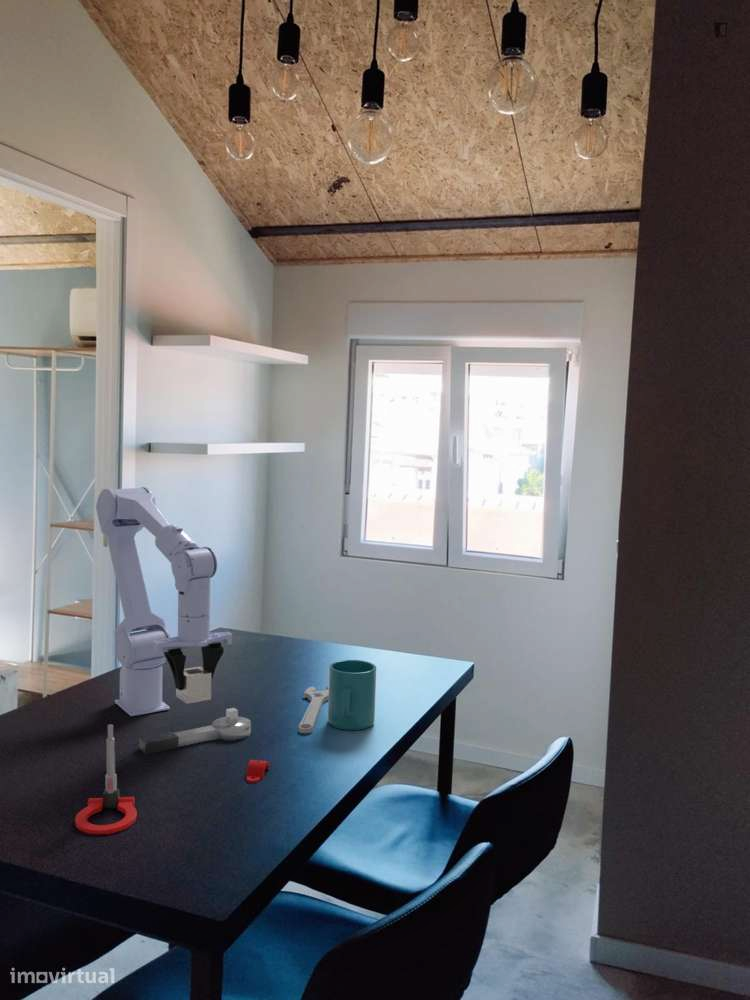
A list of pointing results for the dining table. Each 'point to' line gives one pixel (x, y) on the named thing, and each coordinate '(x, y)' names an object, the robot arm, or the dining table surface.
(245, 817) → the dining table surface
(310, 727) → the adjustable wrench
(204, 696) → the socket
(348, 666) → the cup
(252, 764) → the pipe clamp
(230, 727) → the ratchet
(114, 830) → the tow hook
